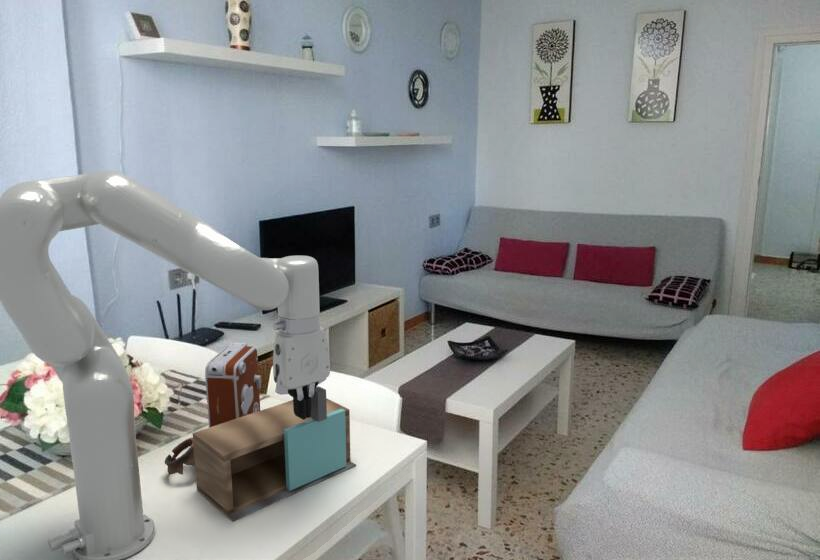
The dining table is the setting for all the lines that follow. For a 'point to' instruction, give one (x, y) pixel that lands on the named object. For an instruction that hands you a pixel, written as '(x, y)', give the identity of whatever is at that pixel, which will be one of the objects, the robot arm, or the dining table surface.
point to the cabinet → (251, 460)
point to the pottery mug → (181, 457)
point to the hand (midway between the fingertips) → (302, 416)
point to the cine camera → (232, 384)
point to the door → (315, 444)
